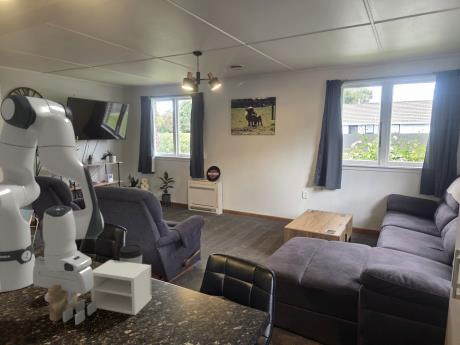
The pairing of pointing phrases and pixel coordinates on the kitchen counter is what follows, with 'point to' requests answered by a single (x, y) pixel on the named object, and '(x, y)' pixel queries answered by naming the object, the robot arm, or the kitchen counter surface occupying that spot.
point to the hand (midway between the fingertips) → (63, 301)
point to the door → (58, 302)
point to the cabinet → (116, 290)
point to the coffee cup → (131, 254)
